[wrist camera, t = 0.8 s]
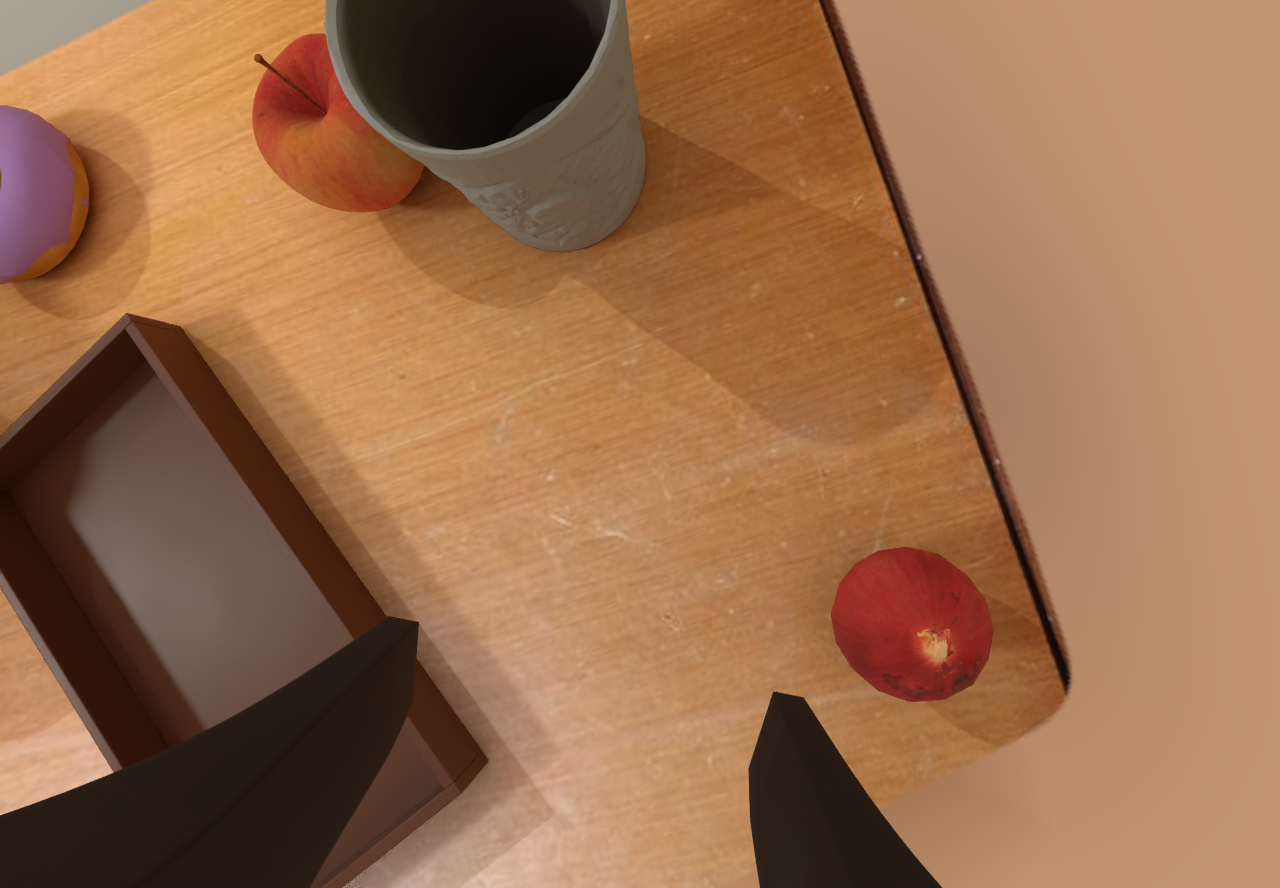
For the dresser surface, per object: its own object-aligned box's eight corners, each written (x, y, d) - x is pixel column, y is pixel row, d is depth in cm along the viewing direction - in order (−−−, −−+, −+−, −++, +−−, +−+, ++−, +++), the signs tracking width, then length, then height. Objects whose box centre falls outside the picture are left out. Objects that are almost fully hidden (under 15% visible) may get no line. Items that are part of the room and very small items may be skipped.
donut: (-11, 106, 37) (-105, 58, 32) (142, 156, 37) (71, 116, 33) (-58, 265, 37) (-160, 240, 32) (94, 313, 38) (17, 297, 33)
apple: (407, 262, 33) (301, 198, 25) (306, 195, 34) (173, 112, 26) (481, 143, 32) (397, 39, 24) (375, 79, 33) (262, -41, 25)
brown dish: (489, 760, 31) (461, 793, 28) (283, 924, 32) (235, 972, 29) (180, 325, 35) (126, 312, 32) (8, 490, 36) (-59, 492, 33)
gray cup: (525, 49, 32) (399, -196, 20) (701, 116, 30) (676, -109, 18) (444, 227, 32) (273, 90, 20) (613, 302, 31) (534, 199, 19)
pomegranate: (980, 627, 27) (1077, 692, 20) (866, 689, 28) (916, 775, 20) (906, 515, 28) (971, 534, 20) (797, 578, 29) (819, 620, 21)
